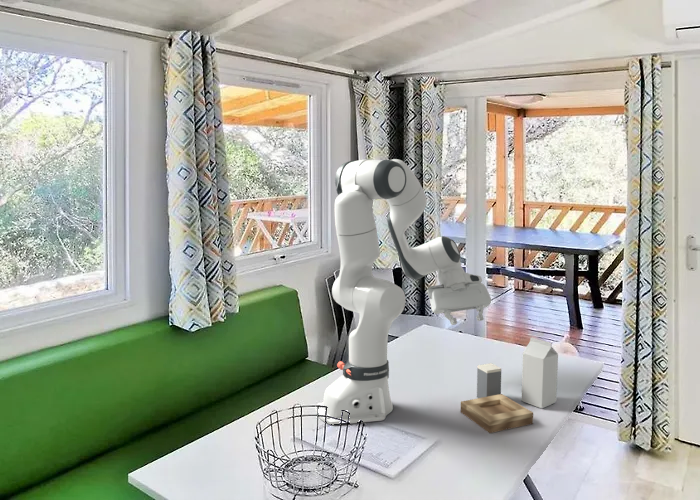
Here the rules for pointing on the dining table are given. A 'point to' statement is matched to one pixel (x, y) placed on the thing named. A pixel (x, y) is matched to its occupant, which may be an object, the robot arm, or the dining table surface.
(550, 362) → the milk carton
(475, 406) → the square wooden tray
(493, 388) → the plain greyish beige box
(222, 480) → the dining table surface
